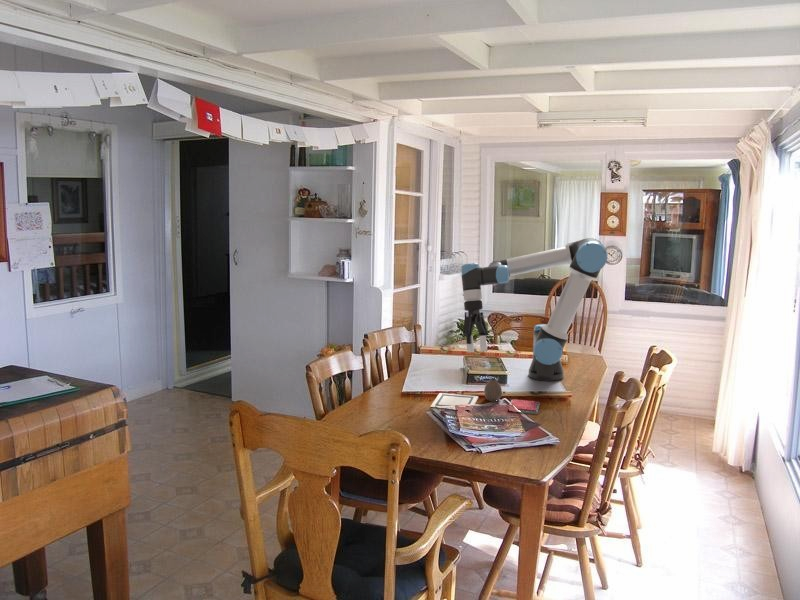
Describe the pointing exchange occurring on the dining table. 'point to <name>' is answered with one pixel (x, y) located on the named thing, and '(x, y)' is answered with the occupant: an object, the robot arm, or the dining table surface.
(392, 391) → the dining table surface
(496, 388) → the brown egg
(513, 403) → the ink pad
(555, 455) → the dining table surface
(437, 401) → the marked card
